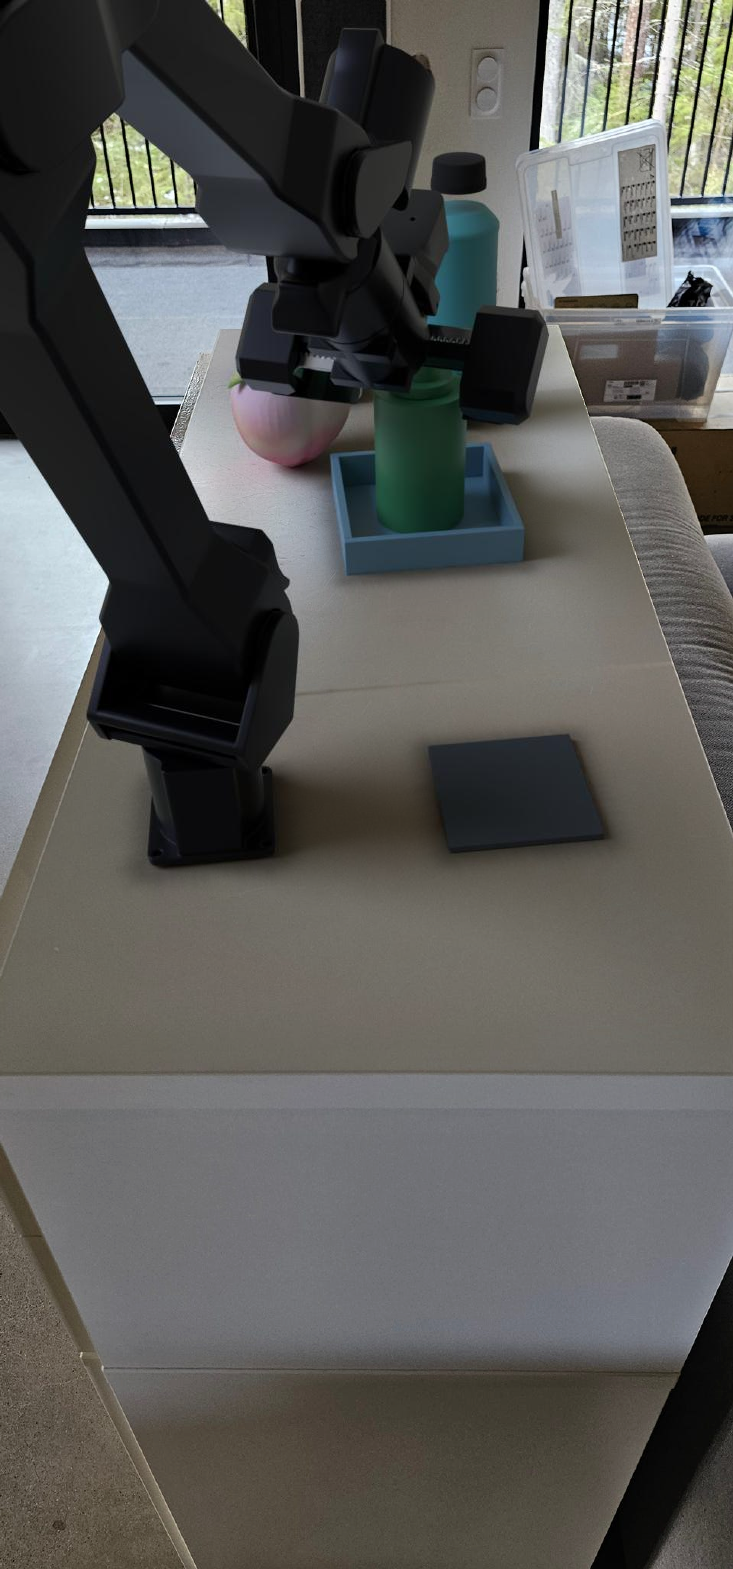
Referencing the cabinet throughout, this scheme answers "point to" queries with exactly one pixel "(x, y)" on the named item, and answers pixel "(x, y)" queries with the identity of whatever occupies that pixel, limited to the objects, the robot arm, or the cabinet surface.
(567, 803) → the mat
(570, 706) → the cabinet surface
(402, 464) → the green bottle
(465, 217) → the beverage bottle
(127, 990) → the cabinet surface
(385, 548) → the tray
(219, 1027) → the cabinet surface
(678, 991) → the cabinet surface
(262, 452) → the decorative fruit
